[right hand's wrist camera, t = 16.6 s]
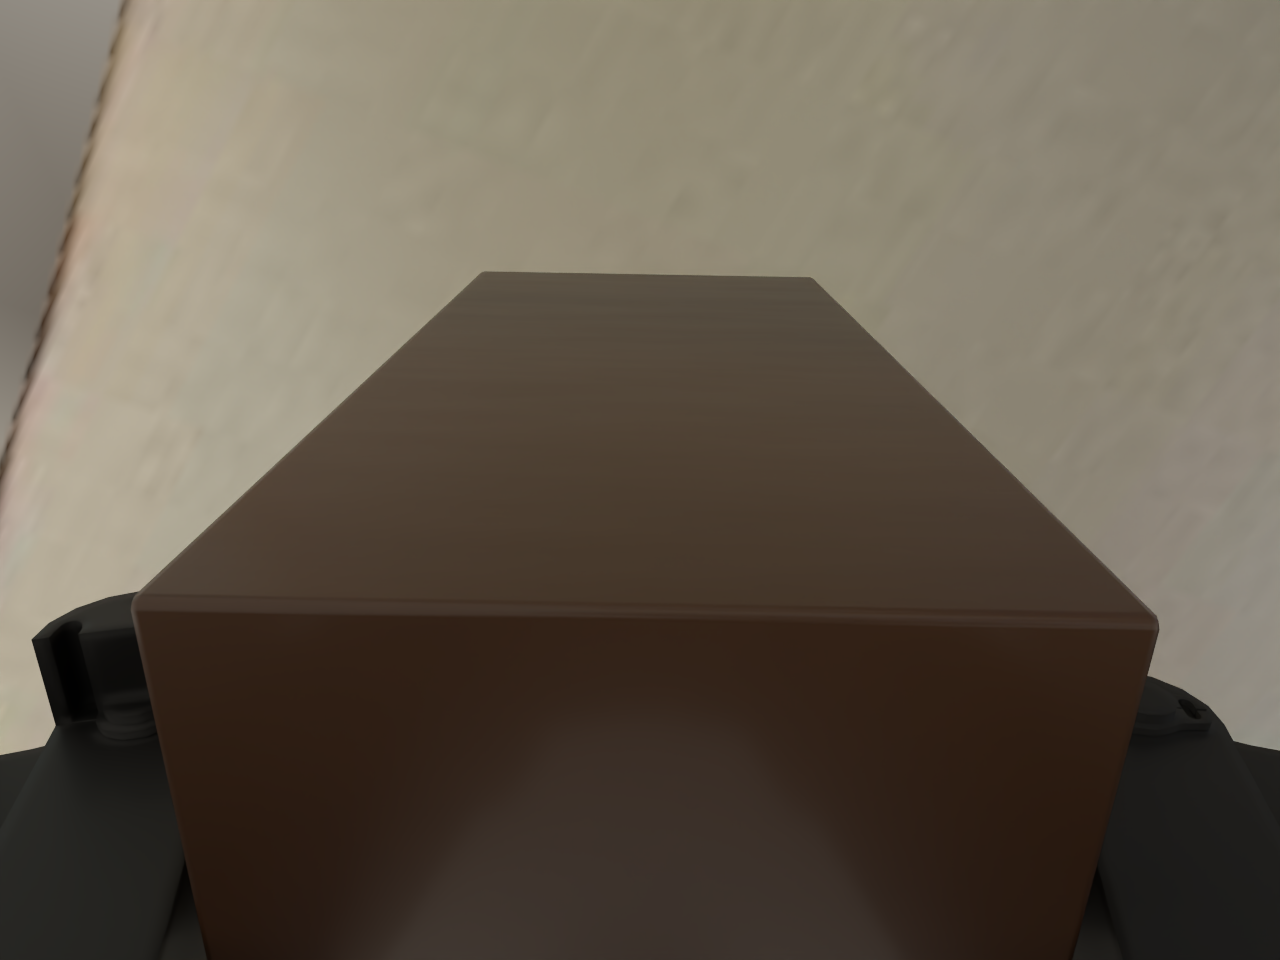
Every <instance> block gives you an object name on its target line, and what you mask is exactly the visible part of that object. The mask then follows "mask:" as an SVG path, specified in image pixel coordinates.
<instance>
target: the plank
mask: <svg viewBox="0 0 1280 960" xmlns="http://www.w3.org/2000/svg"><path fill="white" fill-rule="evenodd" d="M131 614H132V619H133V624H134V628H135V633H136V637H137V642H138V646H139V651H140V656H141V660H142V665H143V669H144V674H145V678H146V683H147V687H148V692H149V697H150V701H151V706H152V710H153V715H154V719H155V724H156V729H157V733H158V738H159V742H160V747H161V751H162V756H163V761H164V765H165V770H166V774H167V779H168V783H169V788H170V793H171V797H172V802H173V806H174V811H175V815H176V820H177V825H178V829H179V834H180V838H181V843H182V847H183V852H184V857H185V861H186V866H187V870H188V875H189V879H190V884H191V889H192V893H193V898H194V902H195V907H196V911H197V916H198V921H199V925H200V930H201V934H202V939H203V943H204V948H205V953H206V957H207V960H1072V959H1073V955H1074V951H1075V947H1076V944H1077V940H1078V936H1079V932H1080V928H1081V925H1082V921H1083V917H1084V913H1085V909H1086V906H1087V902H1088V898H1089V894H1090V890H1091V887H1092V883H1093V879H1094V875H1095V872H1096V868H1097V864H1098V860H1099V856H1100V853H1101V849H1102V845H1103V841H1104V837H1105V834H1106V830H1107V826H1108V822H1109V818H1110V815H1111V811H1112V807H1113V803H1114V800H1115V796H1116V792H1117V788H1118V784H1119V781H1120V777H1121V773H1122V769H1123V765H1124V762H1125V758H1126V754H1127V750H1128V746H1129V743H1130V739H1131V735H1132V731H1133V728H1134V724H1135V720H1136V716H1137V712H1138V709H1139V705H1140V701H1141V697H1142V693H1143V690H1144V686H1145V682H1146V678H1147V674H1148V671H1149V667H1150V663H1151V659H1152V655H1153V652H1154V648H1155V644H1156V640H1157V637H1158V633H1159V623H1158V619H1157V616H1156V615H1155V614H1154V613H1153V612H1152V611H1151V610H1150V609H1149V608H1148V607H1147V606H1146V605H1145V604H1144V603H1143V602H1142V601H1141V600H1140V599H1139V598H1138V597H1137V596H1136V595H1135V594H1134V593H1133V592H1132V591H1131V590H1130V589H1129V588H1128V587H1127V586H1126V585H1125V584H1124V583H1123V582H1122V581H1121V580H1120V579H1119V578H1117V577H1116V576H1115V575H1114V574H1113V573H1112V572H1111V571H1110V570H1109V569H1108V568H1107V567H1106V566H1105V565H1104V564H1103V563H1102V562H1101V561H1100V560H1099V559H1098V558H1097V557H1096V556H1095V555H1094V554H1093V553H1092V552H1091V551H1090V550H1089V549H1088V548H1087V547H1086V546H1085V545H1084V544H1083V543H1082V542H1081V541H1080V540H1079V539H1078V538H1077V537H1076V536H1075V535H1074V534H1073V533H1072V532H1071V531H1070V530H1069V529H1068V528H1067V527H1066V526H1065V525H1063V524H1062V523H1061V522H1060V521H1059V520H1058V519H1057V518H1056V517H1055V516H1054V515H1053V514H1052V513H1051V512H1050V511H1049V510H1048V509H1047V508H1046V507H1045V506H1044V505H1043V504H1042V503H1041V502H1040V501H1039V500H1038V499H1037V498H1036V497H1035V496H1034V495H1033V494H1032V493H1031V492H1030V491H1029V490H1028V489H1027V488H1026V487H1025V486H1024V485H1023V484H1022V483H1021V482H1020V481H1019V480H1018V479H1017V478H1016V477H1015V476H1014V475H1013V474H1012V473H1011V472H1009V471H1008V470H1007V469H1006V468H1005V467H1004V466H1003V465H1002V464H1001V463H1000V462H999V461H998V460H997V459H996V458H995V457H994V456H993V455H992V454H991V453H990V452H989V451H988V450H987V449H986V448H985V447H984V446H983V445H982V444H981V443H980V442H979V441H978V440H977V439H976V438H975V437H974V436H973V435H972V434H971V433H970V432H969V431H968V430H967V429H966V428H965V427H964V426H963V425H962V424H961V423H960V422H959V421H958V420H957V419H955V418H954V417H953V416H952V415H951V414H950V413H949V412H948V411H947V410H946V409H945V408H944V407H943V406H942V405H941V404H940V403H939V402H938V401H937V400H936V399H935V398H934V397H933V396H932V395H931V394H930V393H929V392H928V391H927V390H926V389H925V388H924V387H923V386H922V385H921V384H920V383H919V382H918V381H917V380H916V379H915V378H914V377H913V376H912V375H911V374H910V373H909V372H908V371H907V370H906V369H905V368H904V367H903V366H902V365H900V364H899V363H898V362H897V361H896V360H895V359H894V358H893V357H892V356H891V355H890V354H889V353H888V352H887V351H886V350H885V349H884V348H883V347H882V346H881V345H880V344H879V343H878V342H877V341H876V340H875V339H874V338H873V337H872V336H871V335H870V334H869V333H868V332H867V331H866V330H865V329H864V328H863V327H862V326H861V325H860V324H859V323H858V322H857V321H856V320H855V319H854V318H853V317H852V316H851V315H850V314H849V313H848V312H846V311H845V310H844V309H843V308H842V307H841V306H840V305H839V304H838V303H837V302H836V301H835V300H834V299H833V298H832V297H831V296H830V295H829V294H828V293H827V292H826V291H825V290H824V289H823V288H822V287H821V286H820V285H819V284H818V283H817V282H816V281H815V280H814V279H812V278H810V277H756V276H701V275H647V274H592V273H537V272H482V273H481V274H479V275H478V276H477V277H476V278H475V279H474V280H473V281H472V282H471V283H470V284H469V285H468V286H467V287H465V288H464V289H463V290H462V291H461V292H460V293H459V294H458V295H457V296H456V297H455V298H454V299H453V300H452V301H450V302H449V303H448V304H447V305H446V306H445V307H444V308H443V309H442V310H441V311H440V312H439V313H438V314H437V315H435V316H434V317H433V318H432V319H431V320H430V321H429V322H428V323H427V324H426V325H425V326H424V327H423V328H421V329H420V330H419V331H418V332H417V333H416V334H415V335H414V336H413V337H412V338H411V339H410V340H409V341H408V342H406V343H405V344H404V345H403V346H402V347H401V348H400V349H399V350H398V351H397V352H396V353H395V354H394V355H393V356H391V357H390V358H389V359H388V360H387V361H386V362H385V363H384V364H383V365H382V366H381V367H380V368H379V369H377V370H376V371H375V372H374V373H373V374H372V375H371V376H370V377H369V378H368V379H367V380H366V381H365V382H364V383H362V384H361V385H360V386H359V387H358V388H357V389H356V390H355V391H354V392H353V393H352V394H351V395H350V396H348V397H347V398H346V399H345V400H344V401H343V402H342V403H341V404H340V405H339V406H338V407H337V408H336V409H335V410H333V411H332V412H331V413H330V414H329V415H328V416H327V417H326V418H325V419H324V420H323V421H322V422H321V423H320V424H318V425H317V426H316V427H315V428H314V429H313V430H312V431H311V432H310V433H309V434H308V435H307V436H306V437H304V438H303V439H302V440H301V441H300V442H299V443H298V444H297V445H296V446H295V447H294V448H293V449H292V450H291V451H289V452H288V453H287V454H286V455H285V456H284V457H283V458H282V459H281V460H280V461H279V462H278V463H277V464H276V465H274V466H273V467H272V468H271V469H270V470H269V471H268V472H267V473H266V474H265V475H264V476H263V477H262V478H260V479H259V480H258V481H257V482H256V483H255V484H254V485H253V486H252V487H251V488H250V489H249V490H248V491H247V492H245V493H244V494H243V495H242V496H241V497H240V498H239V499H238V500H237V501H236V502H235V503H234V504H233V505H232V506H230V507H229V508H228V509H227V510H226V511H225V512H224V513H223V514H222V515H221V516H220V517H219V518H218V519H216V520H215V521H214V522H213V523H212V524H211V525H210V526H209V527H208V528H207V529H206V530H205V531H204V532H203V533H201V534H200V535H199V536H198V537H197V538H196V539H195V540H194V541H193V542H192V543H191V544H190V545H189V546H188V547H186V548H185V549H184V550H183V551H182V552H181V553H180V554H179V555H178V556H177V557H176V558H175V559H174V560H172V561H171V562H170V563H169V564H168V565H167V566H166V567H165V568H164V569H163V570H162V571H161V572H160V573H159V574H157V575H156V576H155V577H154V578H153V579H152V580H151V581H150V582H149V583H148V584H147V585H146V586H145V587H143V588H142V589H141V590H140V591H139V592H138V593H137V594H136V595H135V596H134V598H133V600H132V604H131Z"/></svg>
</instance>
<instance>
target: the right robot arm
mask: <svg viewBox="0 0 1280 960" xmlns="http://www.w3.org/2000/svg"><path fill="white" fill-rule="evenodd" d="M137 593H138V592H134V593H129V594H123V595H118V596H113V597H108V598H105V599H102V600H99V601H96V602H93V603H90V604H87V605H85V606H82V607H79V608H76V609H74V610H72V611H70V612H69V613H67V614H65V615H63V616H61V617H59V618H57V619H56V620H54V621H52V622H50V623H49V624H48V625H46V626H45V627H44V628H43V629H42V630H41V631H40V632H39V633H38V634H37V635H36V636H35V637H34V638H33V639H32V643H33V646H34V650H35V653H36V657H37V661H38V664H39V668H40V671H41V675H42V678H43V682H44V685H45V689H46V692H47V696H48V699H49V703H50V706H51V710H52V713H53V717H54V721H55V724H56V727H55V728H54V730H53V732H52V734H51V736H50V738H49V739H48V741H47V743H46V745H45V746H43V747H39V748H35V749H31V750H25V751H20V752H15V753H10V754H4V755H0V960H207V957H206V953H205V948H204V943H203V939H202V934H201V930H200V925H199V921H198V916H197V911H196V907H195V902H194V898H193V893H192V889H191V884H190V879H189V875H188V870H187V866H186V861H185V857H184V852H183V847H182V843H181V838H180V834H179V829H178V825H177V820H176V815H175V811H174V806H173V802H172V797H171V793H170V788H169V783H168V779H167V774H166V770H165V765H164V761H163V756H162V751H161V747H160V742H159V738H158V733H157V729H156V724H155V719H154V715H153V710H152V706H151V701H150V697H149V692H148V687H147V683H146V678H145V674H144V669H143V665H142V660H141V656H140V651H139V646H138V642H137V637H136V633H135V628H134V624H133V619H132V614H131V604H132V600H133V598H134V596H135V595H136V594H137ZM1072 960H1280V751H1278V750H1272V749H1267V748H1262V747H1257V746H1251V745H1247V744H1243V743H1239V742H1235V741H1233V740H1232V738H1231V736H1230V734H1229V732H1228V730H1227V729H1226V727H1225V725H1224V724H1223V722H1222V721H1221V720H1220V719H1219V718H1218V717H1217V716H1216V714H1215V713H1214V712H1213V711H1212V710H1211V709H1210V708H1209V706H1207V705H1206V704H1204V703H1203V702H1201V701H1200V700H1198V699H1197V698H1195V697H1193V696H1192V695H1190V694H1189V693H1187V692H1186V691H1184V690H1183V689H1180V688H1178V687H1175V686H1173V685H1170V684H1168V683H1165V682H1163V681H1160V680H1158V679H1155V678H1153V677H1149V676H1147V678H1146V682H1145V686H1144V690H1143V693H1142V697H1141V701H1140V705H1139V709H1138V712H1137V716H1136V720H1135V724H1134V728H1133V731H1132V735H1131V739H1130V743H1129V746H1128V750H1127V754H1126V758H1125V762H1124V765H1123V769H1122V773H1121V777H1120V781H1119V784H1118V788H1117V792H1116V796H1115V800H1114V803H1113V807H1112V811H1111V815H1110V818H1109V822H1108V826H1107V830H1106V834H1105V837H1104V841H1103V845H1102V849H1101V853H1100V856H1099V860H1098V864H1097V868H1096V872H1095V875H1094V879H1093V883H1092V887H1091V890H1090V894H1089V898H1088V902H1087V906H1086V909H1085V913H1084V917H1083V921H1082V925H1081V928H1080V932H1079V936H1078V940H1077V944H1076V947H1075V951H1074V955H1073V959H1072Z"/></svg>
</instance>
